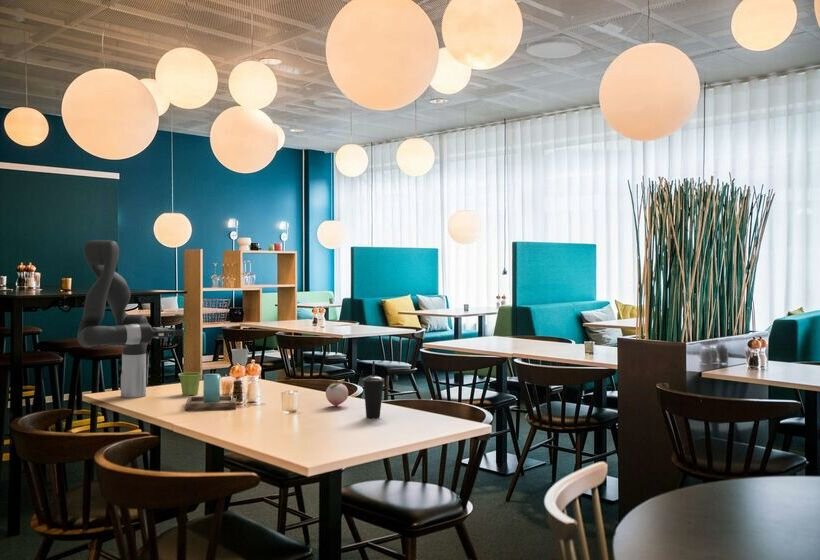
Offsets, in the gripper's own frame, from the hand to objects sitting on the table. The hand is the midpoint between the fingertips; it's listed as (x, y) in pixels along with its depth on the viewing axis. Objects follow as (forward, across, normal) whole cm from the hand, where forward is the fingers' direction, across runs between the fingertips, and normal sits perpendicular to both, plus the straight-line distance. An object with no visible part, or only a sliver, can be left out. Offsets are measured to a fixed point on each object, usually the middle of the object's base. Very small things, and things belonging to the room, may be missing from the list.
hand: (178, 331), depth 287 cm
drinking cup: (+44, -65, +28) cm, 84 cm away
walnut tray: (+8, -11, +28) cm, 31 cm away
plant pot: (+13, +19, +29) cm, 37 cm away
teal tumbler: (+8, -11, +27) cm, 30 cm away
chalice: (+33, +14, +29) cm, 46 cm away
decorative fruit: (+46, -40, +28) cm, 67 cm away
